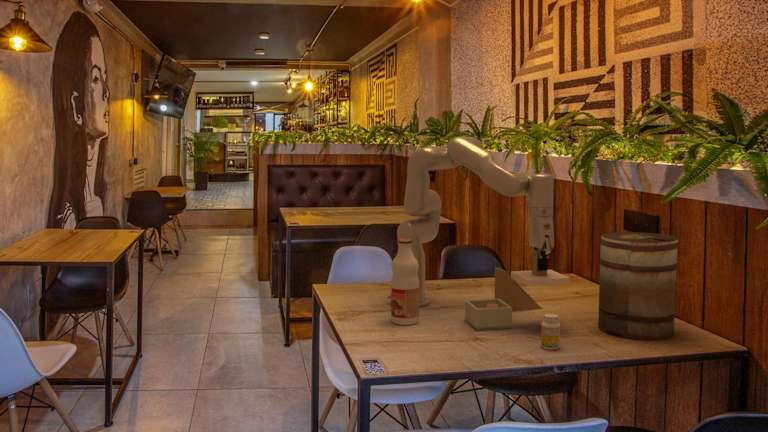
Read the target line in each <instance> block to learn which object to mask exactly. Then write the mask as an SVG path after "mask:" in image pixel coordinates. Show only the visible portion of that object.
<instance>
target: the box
mask: <svg viewBox="0 0 768 432" xmlns="http://www.w3.org/2000/svg"><path fill="white" fill-rule="evenodd" d="M464 322H466V323H467V325H469V326H470V327H471V328H472V329H474V330H475V332H480V331H481V332H482V331H498V330H511V329H513V312H512V307H511V306H509V305H508V304H506V303H505V302H503V301H502V300H500V299H495V298H489V299H470V300H469V299H468V300H464Z"/></svg>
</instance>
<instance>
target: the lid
mask: <svg viewBox="0 0 768 432" xmlns="http://www.w3.org/2000/svg"><path fill="white" fill-rule="evenodd" d="M543 251H545V250H542V252H543ZM531 256H532V257H531V258H532V259H531V270H514V271H512V270H511V271H510V276H511V278H513V279H514V280H515V281H516V282H519V283H520V284H523V285H524V286H526V287H538V286H539V287H541V286H542V287H543V286H559V285H563V286H564V285H571V278H570V277H569V276H567V275H564V274H562V273H560V272H557V271H555V270H553V269H548V270H547V271H538V258H539V249H531Z"/></svg>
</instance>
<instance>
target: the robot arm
mask: <svg viewBox="0 0 768 432" xmlns="http://www.w3.org/2000/svg"><path fill="white" fill-rule="evenodd" d="M459 166H462V167H465V168H467V169H468V170H470V171H471V172H473V173H474V174H476V175H478V176H479V178H480V180H481V181H482V182H483V183H484V184H485V185H486V186H487V187H489V188H490V189H492V190H494V191H496V192H497V193H499V194H500V195H503V196H505V197H510V198H512V197H521V196H528V217H529V222H528V243H529V246H530V248H531V250H532V249H539V258H538V271H547V270H549V268H548V267H549V266H548V265H549V264H548V263H549V255H550V253H551V252H552V250H553V249H554V248H555V229H554V220H553V218H554V217H553V216H554V176H553V175H552V174H550V173H532V172H531V173H530V172H523V171H522V172H510V171H507V170H506V169H503V167H501V166H499V165H497V164H496V163H495V156H494V154H493V153H492V152H491V151H489V150H487V149H485V148H483V145H482V142H481V141H480V140H479V139H478V138H476V137H474V136H454V137H453V138H451V139H450V140H449V141H448V143H447V144H446V145H445V146H443V145H442V146H439V145H437V146H436V145H431V146H430V145H429V146H423V147H420V148H417V149H415V150H414V151H413V152H411V153H410V155H409V158H408V161H407V172H406V173H407V174H406V176H407V177H406V184H405V190H404V191H405V193H404V200H403V201H404V202H403V210H404V212H405V213H406V214H407V215H408V216H410V217H416V218H412V219H407V220H406V219H405V220H404V221H402V222H401V223H400V224H399V225H398V226H397V229H396V237H397V240H398V239H412V245H411V249H412V253H413V255H414V257H415V258H416V260H417V261H418V265H419V268H418V272H417V276H418V279H419V307H424V306H427V305H429V304H430V299H428V298H427V297H426V255H425V251H424V248H423V245H422V244H425V243H429V242H432V241H433V240H435V238H436V237H437V235H438V233H439V227H440V220H441V212H442V199H441V197H440V195H439V193H438V192H437V191H435V190H434V189H430V185H431V178H430V174H429V171H440V170H443V171H444V170H449V169H453V168H457V167H459ZM417 217H418V218H417ZM542 250H545V251H543V252H542ZM386 298H387V299H388V300H389V299H391V292H388V293H387V294H386Z"/></svg>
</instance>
